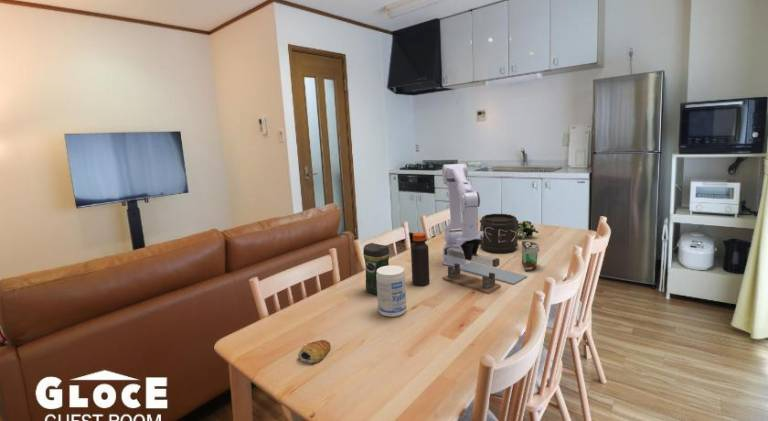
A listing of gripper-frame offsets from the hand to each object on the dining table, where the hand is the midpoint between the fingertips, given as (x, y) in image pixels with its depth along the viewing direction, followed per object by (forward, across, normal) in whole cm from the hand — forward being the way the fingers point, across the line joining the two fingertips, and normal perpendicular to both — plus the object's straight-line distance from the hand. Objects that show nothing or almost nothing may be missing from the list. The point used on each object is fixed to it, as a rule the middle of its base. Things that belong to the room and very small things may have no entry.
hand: (470, 258), depth 148 cm
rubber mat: (+10, +14, 0) cm, 17 cm away
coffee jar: (+10, -28, +22) cm, 37 cm away
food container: (+10, +30, -9) cm, 33 cm away
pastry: (+10, -69, +3) cm, 69 cm away
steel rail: (0, 0, 0) cm, 0 cm away
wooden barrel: (+10, +44, +15) cm, 48 cm away
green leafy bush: (+10, +67, +14) cm, 69 cm away
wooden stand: (+10, 0, 0) cm, 10 cm away
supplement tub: (+10, -36, +6) cm, 38 cm away
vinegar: (+10, -12, +15) cm, 22 cm away
